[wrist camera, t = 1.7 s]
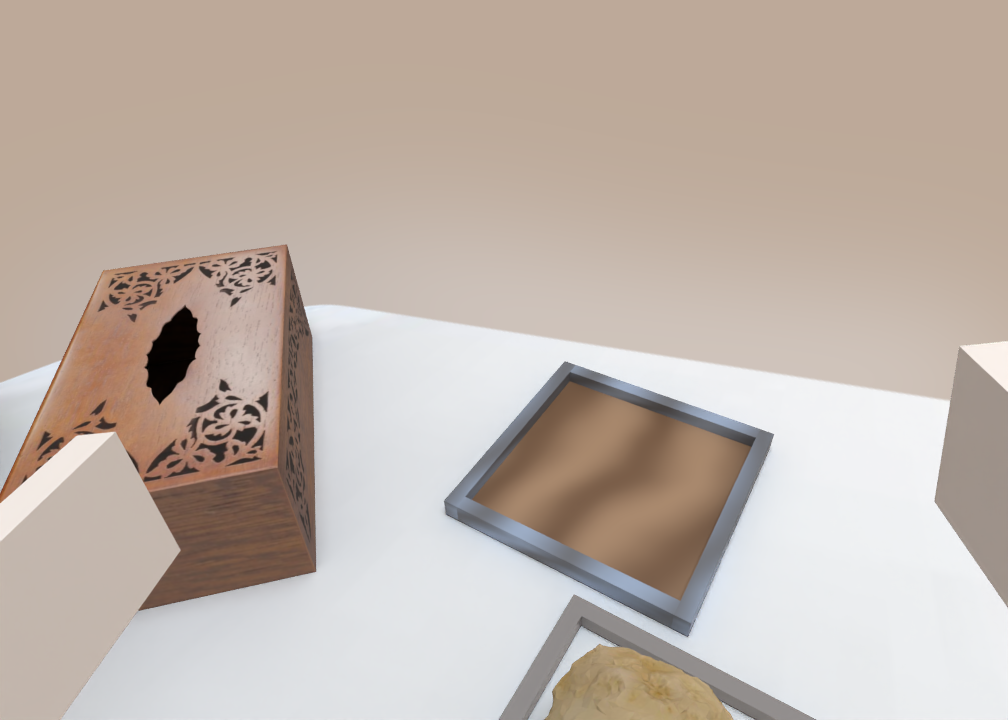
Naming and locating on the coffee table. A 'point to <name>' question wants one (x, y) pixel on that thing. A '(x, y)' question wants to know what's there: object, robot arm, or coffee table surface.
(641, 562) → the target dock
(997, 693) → the coffee table surface
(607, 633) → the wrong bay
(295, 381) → the tissue box cover
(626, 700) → the coral
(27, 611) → the robot arm
